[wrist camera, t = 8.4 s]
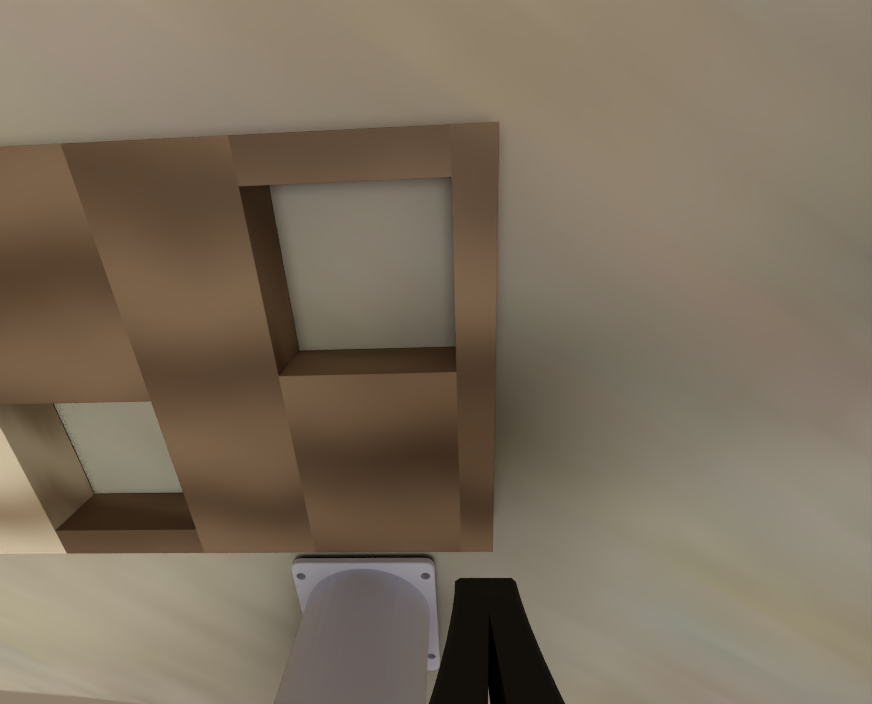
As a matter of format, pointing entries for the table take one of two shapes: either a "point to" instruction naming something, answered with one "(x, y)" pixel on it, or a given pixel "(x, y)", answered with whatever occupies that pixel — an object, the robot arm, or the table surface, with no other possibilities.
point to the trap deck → (236, 351)
